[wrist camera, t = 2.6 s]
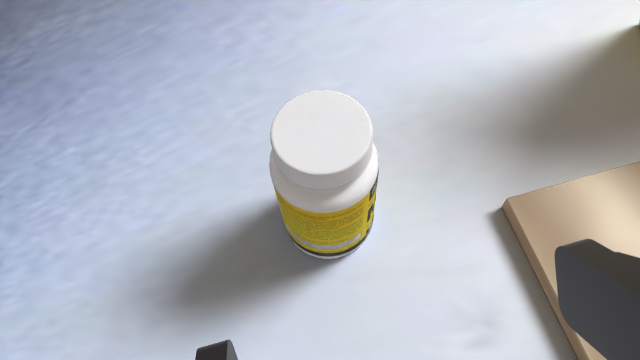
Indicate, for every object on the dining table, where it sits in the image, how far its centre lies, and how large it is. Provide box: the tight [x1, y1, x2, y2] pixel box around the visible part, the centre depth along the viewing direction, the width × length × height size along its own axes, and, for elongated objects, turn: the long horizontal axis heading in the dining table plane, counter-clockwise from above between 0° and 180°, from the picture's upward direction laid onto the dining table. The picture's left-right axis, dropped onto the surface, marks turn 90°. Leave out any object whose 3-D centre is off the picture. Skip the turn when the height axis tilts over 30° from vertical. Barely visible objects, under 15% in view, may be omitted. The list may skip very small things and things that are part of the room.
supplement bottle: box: [269, 90, 379, 259], centre depth 22 cm, size 5×5×8 cm
